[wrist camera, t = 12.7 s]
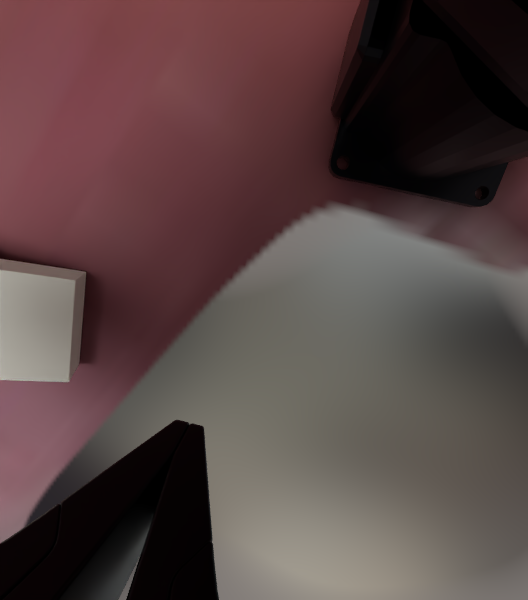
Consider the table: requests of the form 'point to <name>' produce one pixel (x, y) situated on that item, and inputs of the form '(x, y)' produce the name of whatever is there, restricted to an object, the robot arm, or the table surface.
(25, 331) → the domino
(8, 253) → the table surface
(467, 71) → the robot arm
